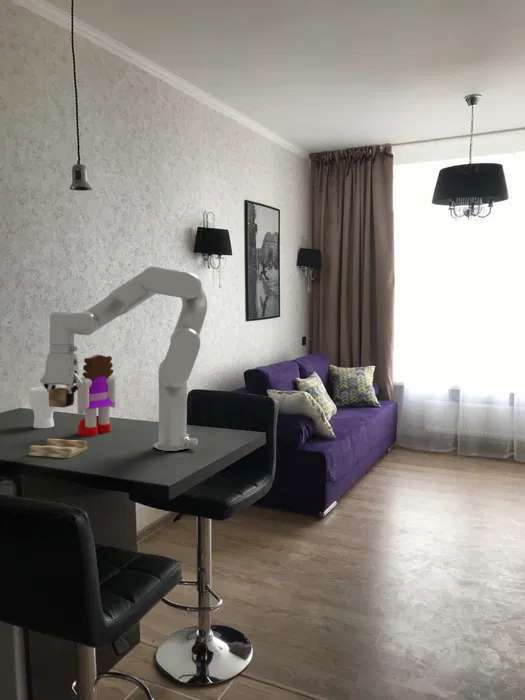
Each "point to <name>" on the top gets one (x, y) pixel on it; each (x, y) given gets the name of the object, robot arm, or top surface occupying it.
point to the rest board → (59, 448)
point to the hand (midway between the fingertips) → (61, 403)
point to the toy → (96, 395)
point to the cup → (41, 408)
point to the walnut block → (58, 397)
